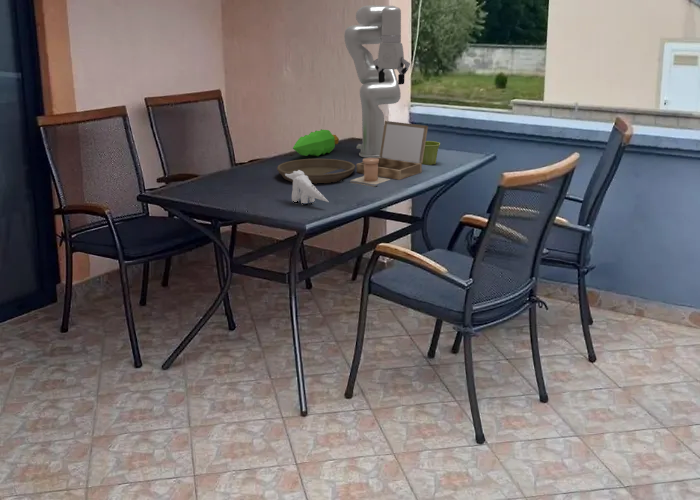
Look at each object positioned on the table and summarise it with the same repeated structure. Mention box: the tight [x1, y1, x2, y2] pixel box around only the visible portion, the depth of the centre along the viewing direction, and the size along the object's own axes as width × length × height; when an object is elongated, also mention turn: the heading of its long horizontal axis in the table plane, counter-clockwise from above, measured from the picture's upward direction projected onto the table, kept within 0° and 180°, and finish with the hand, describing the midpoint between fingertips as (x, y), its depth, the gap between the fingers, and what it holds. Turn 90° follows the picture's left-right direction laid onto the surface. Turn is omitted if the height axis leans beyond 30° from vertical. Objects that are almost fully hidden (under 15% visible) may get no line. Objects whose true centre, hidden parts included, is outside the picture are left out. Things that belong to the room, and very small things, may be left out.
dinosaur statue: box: [285, 170, 330, 204], centre depth 307 cm, size 7×24×11 cm, turn 43°
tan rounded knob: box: [362, 157, 379, 181], centre depth 336 cm, size 6×6×8 cm
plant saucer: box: [276, 158, 356, 185], centre depth 348 cm, size 31×31×5 cm
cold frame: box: [355, 157, 423, 181], centre depth 348 cm, size 21×15×4 cm
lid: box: [380, 120, 429, 164], centre depth 352 cm, size 21×15×1 cm
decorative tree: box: [292, 129, 340, 157], centre depth 383 cm, size 11×12×30 cm
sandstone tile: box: [350, 175, 392, 188], centre depth 337 cm, size 12×10×1 cm
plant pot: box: [420, 140, 441, 166], centre depth 366 cm, size 9×9×9 cm
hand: (391, 83), depth 351 cm, fingers open, 9 cm apart
